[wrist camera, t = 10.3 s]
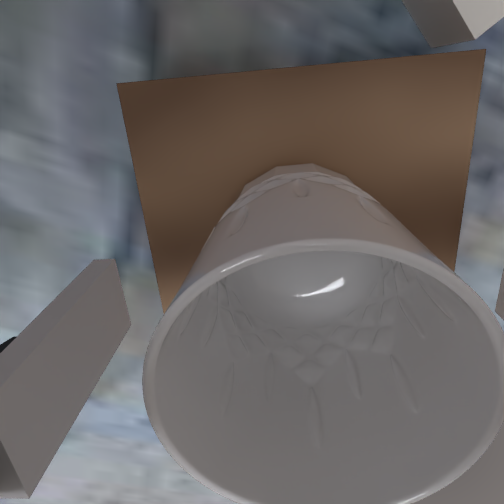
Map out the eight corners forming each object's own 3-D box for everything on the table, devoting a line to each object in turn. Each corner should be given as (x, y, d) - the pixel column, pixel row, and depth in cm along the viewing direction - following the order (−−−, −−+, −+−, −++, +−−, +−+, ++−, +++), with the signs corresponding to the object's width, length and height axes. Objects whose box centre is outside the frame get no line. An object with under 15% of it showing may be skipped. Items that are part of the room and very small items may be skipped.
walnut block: (158, 82, 21) (116, 83, 15) (427, 57, 20) (486, 48, 14) (195, 304, 26) (174, 363, 21) (406, 296, 25) (442, 356, 20)
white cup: (421, 186, 16) (604, 324, 7) (340, 330, 19) (396, 552, 10) (245, 119, 16) (198, 175, 6) (191, 280, 19) (110, 469, 10)
